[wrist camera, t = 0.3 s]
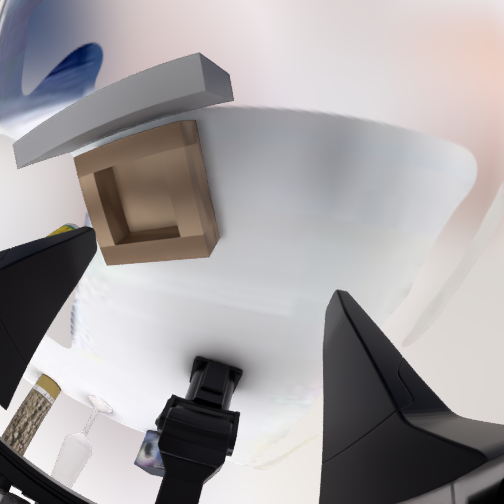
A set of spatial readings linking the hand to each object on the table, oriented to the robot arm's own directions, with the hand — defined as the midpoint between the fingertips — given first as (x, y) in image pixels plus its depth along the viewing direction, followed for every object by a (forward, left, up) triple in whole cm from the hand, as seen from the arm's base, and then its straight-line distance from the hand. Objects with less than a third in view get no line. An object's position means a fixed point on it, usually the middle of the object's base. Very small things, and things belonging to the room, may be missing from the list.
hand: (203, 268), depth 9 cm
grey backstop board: (+3, +12, -15) cm, 20 cm away
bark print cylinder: (-62, +38, -15) cm, 74 cm away
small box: (-59, +3, -15) cm, 61 cm away
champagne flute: (-57, +21, -15) cm, 63 cm away
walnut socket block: (-4, +9, -15) cm, 18 cm away
